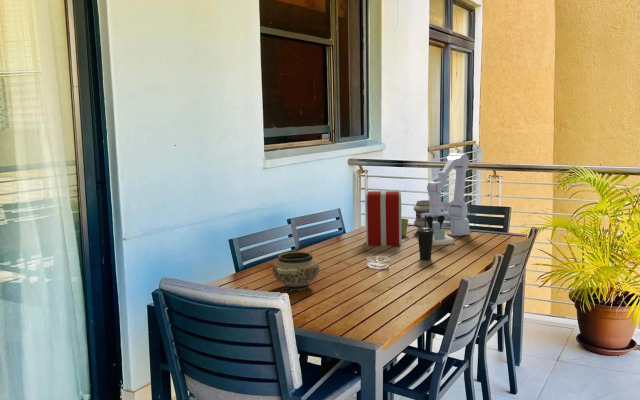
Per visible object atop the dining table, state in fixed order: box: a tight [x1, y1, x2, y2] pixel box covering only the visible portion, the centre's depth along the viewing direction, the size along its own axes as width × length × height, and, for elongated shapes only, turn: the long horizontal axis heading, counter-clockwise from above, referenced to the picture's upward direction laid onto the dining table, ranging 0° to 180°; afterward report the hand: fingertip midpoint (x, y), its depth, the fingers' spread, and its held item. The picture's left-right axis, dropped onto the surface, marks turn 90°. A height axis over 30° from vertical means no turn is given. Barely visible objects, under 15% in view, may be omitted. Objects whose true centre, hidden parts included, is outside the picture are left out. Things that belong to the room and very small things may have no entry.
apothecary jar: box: [413, 199, 436, 235], centre depth 330 cm, size 12×12×18 cm
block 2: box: [434, 228, 446, 240], centre depth 303 cm, size 4×4×6 cm
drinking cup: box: [416, 216, 434, 261], centre depth 268 cm, size 8×8×20 cm
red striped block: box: [365, 190, 403, 247], centre depth 307 cm, size 16×18×27 cm
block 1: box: [432, 221, 440, 235], centre depth 308 cm, size 4×4×6 cm
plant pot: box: [401, 218, 410, 237], centre depth 326 cm, size 9×9×9 cm
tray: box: [432, 234, 455, 247], centre depth 306 cm, size 12×15×2 cm
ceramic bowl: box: [272, 251, 320, 291], centre depth 228 cm, size 24×18×15 cm
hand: (435, 230), depth 308 cm, fingers closed on block 1, 4 cm apart
